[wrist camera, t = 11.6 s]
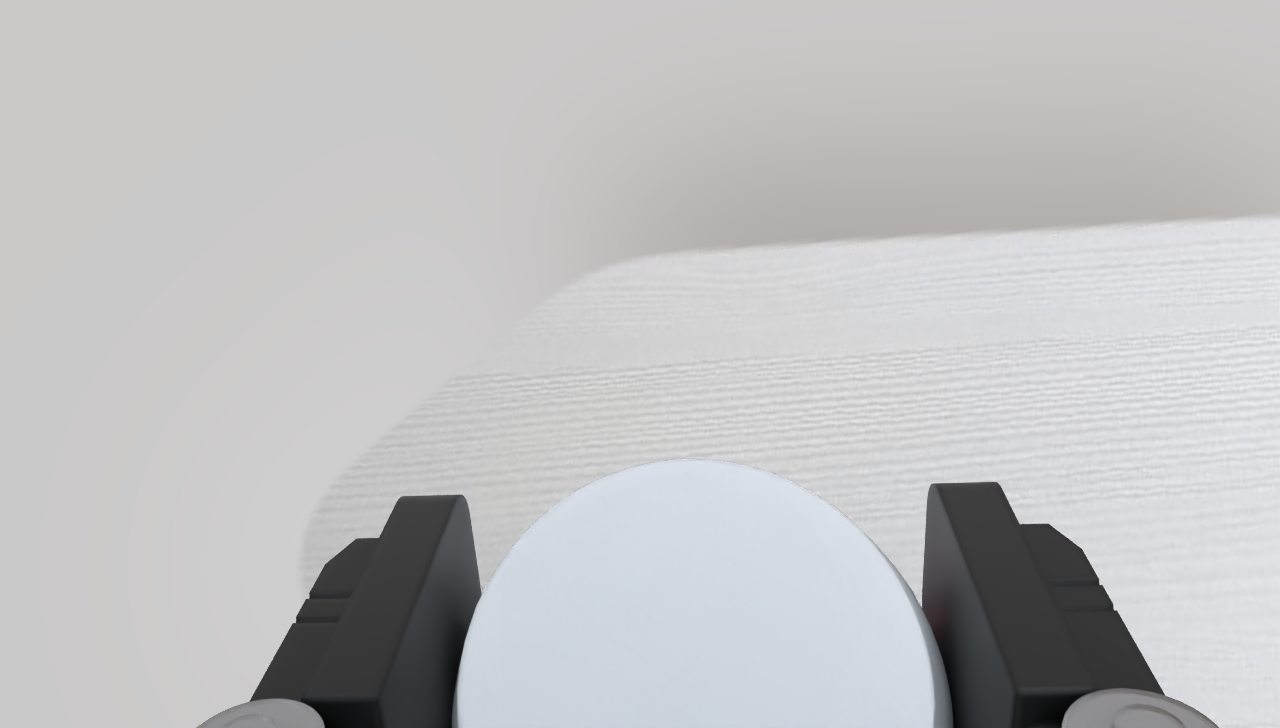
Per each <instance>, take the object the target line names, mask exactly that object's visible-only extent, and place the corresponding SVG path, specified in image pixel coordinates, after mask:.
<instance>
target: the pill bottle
mask: <svg viewBox="0 0 1280 728" xmlns="http://www.w3.org/2000/svg"><path fill="white" fill-rule="evenodd" d="M452 728H954V724H953V710H952V701H951V695H950V689H949V683H948V679H947V675H946V671H945V667H944V663H943V659H942V656H941V653H940V650H939V648H938V645H937V642H936V639H935V636H934V634H933V631H932V628H931V626H930V624H929V622H928V620H927V618H926V615H925V613H924V611H923V609H922V608H921V606H920V604H919V603H918V601H917V600H916V597H915V595H914V593H913V591H912V590H911V588H910V587H909V585H908V584H907V582H906V581H905V580H904V578H903V577H902V575H901V574H900V573H899V571H898V570H897V569H896V568H895V566H894V565H893V564H892V562H891V561H890V560H889V559H888V558H887V557H886V555H885V554H884V553H883V552H882V551H881V550H880V548H879V547H878V546H877V545H876V544H875V543H874V542H873V541H872V540H871V539H870V538H869V537H868V536H867V535H866V534H865V533H864V532H862V531H861V529H860V528H859V527H858V526H856V525H855V524H854V523H853V522H852V521H851V520H850V519H849V518H847V517H846V516H845V515H844V514H843V513H842V512H841V511H839V510H838V509H837V508H835V507H834V506H833V505H831V504H830V503H829V502H827V501H826V500H825V499H823V498H822V497H820V496H818V495H816V494H814V493H812V492H810V491H808V490H807V489H805V488H803V487H801V486H799V485H798V484H796V483H794V482H792V481H790V480H788V479H786V478H784V477H782V476H779V475H776V474H774V473H771V472H768V471H765V470H762V469H759V468H754V467H750V466H746V465H742V464H737V463H733V462H728V461H720V460H708V459H675V460H665V461H659V462H653V463H647V464H642V465H638V466H634V467H631V468H627V469H624V470H621V471H619V472H616V473H613V474H611V475H608V476H605V477H602V478H600V479H598V480H596V481H594V482H592V483H590V484H587V485H585V486H583V487H582V488H580V489H578V490H577V491H575V492H574V493H572V494H570V495H569V496H568V497H566V498H565V499H563V500H562V501H560V502H559V503H557V504H556V505H554V506H553V507H552V508H551V509H549V510H548V511H547V512H546V513H544V514H543V515H542V516H541V517H539V518H538V519H537V520H536V521H535V522H534V523H533V524H532V525H531V526H530V527H529V528H528V529H527V530H526V531H525V533H524V534H523V535H522V536H521V537H520V538H519V539H518V540H517V542H516V543H515V544H514V545H513V546H512V548H511V549H510V550H509V552H508V553H507V555H506V556H505V557H504V559H503V560H502V561H501V563H500V564H499V566H498V567H497V569H496V570H495V572H494V574H493V575H492V577H491V578H490V580H489V582H488V584H487V586H486V588H485V590H484V592H483V594H482V596H481V598H480V600H479V602H478V604H477V606H476V609H475V612H474V614H473V617H472V620H471V623H470V626H469V629H468V633H467V636H466V639H465V643H464V648H463V653H462V657H461V661H460V665H459V669H458V674H457V680H456V685H455V691H454V699H453V709H452Z"/></svg>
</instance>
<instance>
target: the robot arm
mask: <svg viewBox="0 0 1280 728" xmlns="http://www.w3.org/2000/svg"><path fill="white" fill-rule="evenodd" d="M309 594H310V598H309V599H306V600H305V602H304V604H303V606H302V608H301V609H300V611H299V613H298V615H297V617H296V623H293V624H292V626H291V628H290V629H289V631H288V633H287V635H286V637H285V638H284V640H283V642H282V644H281V646H280V647H279V649H278V651H277V653H276V655H275V656H274V658H273V660H272V662H271V664H270V665H269V667H268V669H267V671H266V673H265V675H264V677H263V678H262V680H261V682H260V684H259V685H258V687H257V689H256V691H255V693H254V694H253V696H252V698H251V700H250V702H247V703H244V704H241V705H238V706H235V707H232V708H230V709H227V710H225V711H223V712H221V713H219V714H217V715H215V716H213V717H212V718H210V719H208V720H207V721H205V722H204V723H202V724H201V725H199V726H198V727H197V728H452V709H453V699H454V691H455V685H456V680H457V674H458V669H459V665H460V661H461V657H462V653H463V648H464V643H465V639H466V636H467V633H468V629H469V626H470V623H471V620H472V617H473V614H474V612H475V609H476V606H477V604H478V602H479V600H480V598H481V596H482V595H481V588H480V581H479V574H478V567H477V560H476V553H475V546H474V540H473V533H472V526H471V519H470V513H469V508H468V504H467V501H466V499H465V497H464V496H463V495H434V496H402V497H400V498H399V499H398V501H397V503H396V505H395V507H394V509H393V511H392V513H391V515H390V517H389V519H388V521H387V523H386V525H385V527H384V529H383V531H382V533H381V535H380V537H379V538H360V539H355V540H354V541H353V542H352V543H351V544H349V545H348V546H347V547H346V548H345V549H343V550H342V551H341V552H340V553H338V554H337V555H336V556H335V557H334V558H332V559H331V560H330V561H329V562H328V563H326V564H325V566H324V568H323V570H322V571H321V573H320V575H319V577H318V579H317V580H316V582H315V584H314V586H313V588H312V590H311V591H310V593H309ZM922 609H923V611H924V613H925V615H926V618H927V620H928V622H929V624H930V626H931V628H932V631H933V634H934V636H935V639H936V642H937V645H938V648H939V650H940V653H941V656H942V659H943V663H944V667H945V671H946V675H947V679H948V683H949V689H950V695H951V701H952V710H953V724H954V728H1219V727H1218V726H1217V725H1216V724H1215V723H1214V722H1212V721H1211V720H1210V719H1209V718H1207V717H1206V716H1205V715H1203V714H1202V713H1200V712H1199V711H1197V710H1196V709H1194V708H1192V707H1190V706H1188V705H1186V704H1184V703H1182V702H1180V701H1178V700H1175V699H1173V698H1170V697H1167V696H1165V694H1164V693H1163V691H1162V689H1161V687H1160V686H1159V684H1158V682H1157V680H1156V679H1155V677H1154V675H1153V673H1152V672H1151V670H1150V668H1149V666H1148V664H1147V663H1146V661H1145V659H1144V657H1143V656H1142V654H1141V652H1140V650H1139V649H1138V647H1137V645H1136V643H1135V642H1134V640H1133V638H1132V636H1131V635H1130V633H1129V631H1128V629H1127V628H1126V626H1125V624H1124V622H1123V621H1122V619H1121V617H1120V615H1119V614H1118V612H1117V611H1114V609H1113V603H1112V601H1111V599H1110V598H1109V596H1108V594H1107V592H1106V591H1105V589H1104V587H1103V585H1099V578H1098V577H1097V575H1096V573H1095V571H1094V570H1093V568H1092V566H1091V564H1090V563H1089V561H1088V559H1087V557H1086V556H1085V554H1084V552H1083V550H1082V549H1081V548H1080V547H1078V546H1077V545H1076V544H1074V543H1073V542H1072V541H1070V540H1069V539H1068V538H1066V537H1065V536H1064V535H1062V534H1061V533H1060V532H1058V531H1057V530H1056V529H1055V528H1053V527H1052V526H1051V525H1049V524H1019V522H1018V520H1017V518H1016V516H1015V514H1014V512H1013V510H1012V508H1011V506H1010V504H1009V502H1008V500H1007V498H1006V496H1005V494H1004V492H1003V490H1002V488H1001V486H1000V485H999V484H998V483H997V482H975V483H936V484H931V486H930V488H929V492H928V499H927V514H926V532H925V551H924V570H923V588H922Z"/></svg>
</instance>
